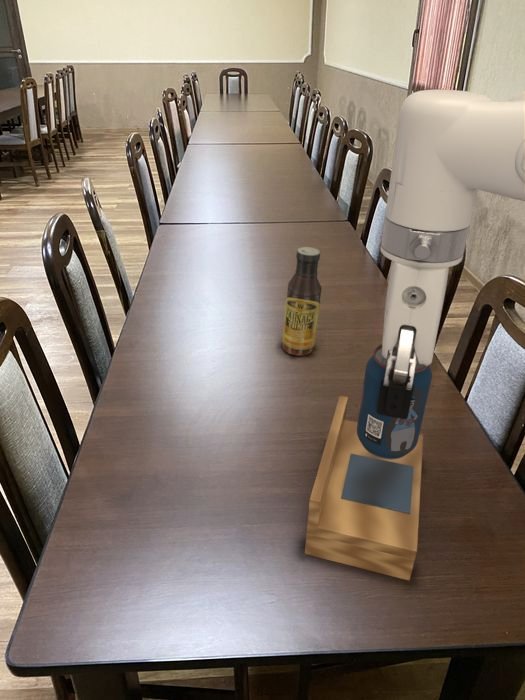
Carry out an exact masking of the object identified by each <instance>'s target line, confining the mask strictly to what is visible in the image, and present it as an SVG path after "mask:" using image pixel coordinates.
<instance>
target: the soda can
mask: <svg viewBox="0 0 525 700" xmlns="http://www.w3.org/2000/svg"><path fill="white" fill-rule="evenodd" d="M397 351H398V349H394V347H393V353H392V354H393V355H397ZM413 354H414V352H411V356H410V357H412V358H413ZM387 361H388V359H385V358H384V357H383V355H382V344H380V345H378V346H377V347H376V348H375V349H374V350H373V354H372V356H370V357H369V359H368V360H367V362H366V366H365V371H364V380H363V386H362V392H361V399H360V405H359V413H358V418H357V422H358V425H357V435H358V438H359V440H360V442H361V443H362V445H363V447H364V448H365V449H366V450H367V451H368V452H369V453H370V454H372V455H374V456H376V457H379V458H382V459H389V460H393V459H399V458H402V457H404V456H405V455H407V454H408V453H409V452H411V451H412V450H413V449H414V448H415V447H416V445H417V442H418V438H419V434H420V435H421V428H422V425H423V419H424V416H425V415H424V414H425V410H426V406H427V402H428V396H429V393H430V388H431V384H432V379H433V371H432V368H431V366H430V365H428V366H425V364H419V362H418V359H417V363H416V367H415V373H414V379H413V384H412V385H414V390H413V395H412V400H411V405H410V409H409V414H408V418H407V419H401V418H395V417H390V416H385V415H380V414H378V413H377V405H378V399H379V393H380V387H381V381H382V380H384V378H385V372H386V366H387ZM395 363H396V362H395V361H393V363H392V368H391V372H392V370H394V369H395ZM409 367H410V364H409ZM408 373H409V369H408Z"/></svg>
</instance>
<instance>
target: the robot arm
mask: <svg viewBox="0 0 525 700" xmlns="http://www.w3.org/2000/svg"><path fill="white" fill-rule="evenodd" d="M392 157H393V158H392V165H391V171H390V178H389V187H388V193H387V201H386V205H385V214H384V221H383V227H382V233H381V234H382V235H381V241H380V249H379V250H380V253H381V254H382V255H383V256H384V257H385V258H387V259H388V260H390V261H391V262H390V268H389V274H388V275H389V276H388V282H387V289H386V297H385V304H384V316H383V327H382V342H381V345H382V355H383V357H384V358H385V359H388V361H387V366H386V372H385V378H384V380H382V381H381V387H380V393H379V399H378V405H377V413H378V414H380V415H385V416H390V417H395V418H401V419H407V418H408V414H409V409H410V405H411V400H412V395H413V390H414V385H412V384H413V379H414V373H415V367H416V363H417V359H418V362H419V364H425V366H428V365H429V366H430V365H431V364H433V358H434V351H435V348H436V347H435V346H436V343H437V342H436V341H437V337H438V336H437V335H438V331H439V327H440V321H441V317H442V312H443V306H444V302H445V295H446V291H447V285H448V278H449V269H450V268H452V267H454V266H457V265H459V264H460V263H461V262H462V261H463V257H464V253H465V249H466V245H467V240H468V235H469V231H470V228H471V221H472V218H473V214H474V208H475V205H476V199H477V195H478V192H479V191H482V192H486V193H491V194H494V195H498V196H500V197H505V198H508V199H512V200H516V201H517V200H518V201H523V202H525V89H524V90H522V91H521V92H519V93H517V94H515V95H514V96H513V97H512V98H510V99H509V100H508V101H492V100H491V98H490V97H488V96H486V95H484V94H482V93H479V92H473V91H466V90H457V89H456V90H455V89H425V90H418V91H415V92H412V93H411V94H409V95H408V96H407V97H406V98H405V100H404V101H403V102H402V105H401V107H400V111H399V116H398V122H397V128H396V135H395V143H394V149H393V156H392ZM393 347H394V349H398V351H397V355H393V354H392V353H393ZM411 352H414V354H413V358H412V357H410V356H411ZM393 361H395V362H396V363H395V369H394V370H392V372H391V368H392V363H393ZM409 364H410V367H409ZM408 369H409V373H408Z"/></svg>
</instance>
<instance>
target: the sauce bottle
mask: <svg viewBox="0 0 525 700" xmlns="http://www.w3.org/2000/svg"><path fill="white" fill-rule="evenodd" d="M295 258H296V267H295V273H294V274H293V276H292V277H291V279H290V280H289V281H288V283H287V293H286V298H285V305H284V306H285V307H284V320H283V327H282V339H281V340H282V344H281V345H282V350H283V351H284V352H285V353H287V354H289V355H292V356H295V357H302V356H304V357H305V356H308V355H310V354H311V353H312V352H313V351H314V348H315V345H316V340H317V330H318V324H319V315H320V309H321V307H320V306H321V296H322V290H323V289H322V288H323V287H322V285H321V282H320V280H319V279H318V268H319V261H320V259H321V251H320V249H318V248H316V247H311V246H302V247H298V248H297V249H296V254H295Z"/></svg>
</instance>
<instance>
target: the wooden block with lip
mask: <svg viewBox="0 0 525 700" xmlns="http://www.w3.org/2000/svg"><path fill="white" fill-rule="evenodd" d="M348 402H349V397H348V396H344V395H339V396H338V400H337V403H336V406H335V410H334V413H333V417H332V420H331V424H330V428H329V431H328V434H327V438H326V441H325V444H324V448H323V451H322V455H321V459H320V462H319V466H318V469H317V473H316V475H315V479H314V483H313V486H312V490H311V493H310V497H309V500H308V501H309V503H308V512H307V513H308V514H307V524H306V533H305V535H306V536H305V544H304V545H305V546H304V555H307V556H312V557H315V558H319V559H322V560H327V561H331V562H334V563H339V564H343V565H345V566H346V565H347V566H350V567H354V568H358V569H362V570H366V571H369V572H374V573H378V574H382V575H385V576H389V577H393V578H397V579H402V580H405V581H410V580H411V576H412V573H413V569H414V564H415V560H416V557H417V553H418V541H419V522H420V521H419V520H420V519H419V518H420V504H421V503H420V502H421V483H422V465H423V448H424V446H423V445H424V435H423V434H421V433H420V434H419V438H418V442H417V445H416V447H415V448H414V449H413V450H412V451H411V452H409V453H408V454H407V455H405V456H404V457H402V458H399V459H393V460H389V459H382V458H379V457H376V456H374V455H372V454H370V453H369V452H368V451H367V450H366V449H365V448H364V447H363V445H362V443H361V442H360V440H359V438H358V435H357V425H358V421H352V420H347V419H346V417H347V409H348Z"/></svg>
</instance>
